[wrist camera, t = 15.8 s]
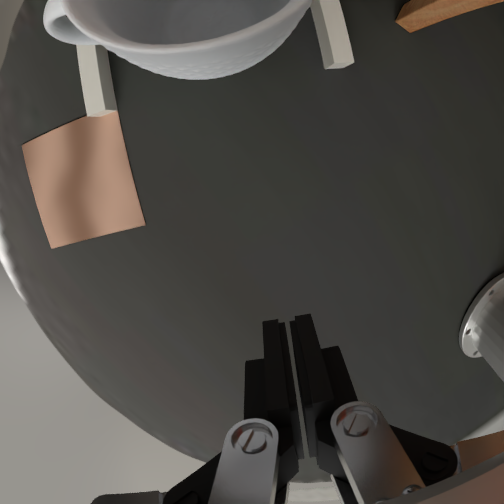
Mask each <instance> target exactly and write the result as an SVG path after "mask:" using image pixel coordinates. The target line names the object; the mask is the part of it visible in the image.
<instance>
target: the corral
mask: <svg viewBox="0 0 504 504" xmlns="http://www.w3.org/2000/svg"><path fill="white" fill-rule="evenodd" d="M310 8H311V12H312V16H313V20H314V24H315V28H316V32H317V36H318V40H319V45H320V49H321V54H322V59H323V63H324V68H325V69H333V68H344V67H346V66H348V65H350V64H352V63H354V59H353V54H352V49H351V45H350V41H349V36H348V32H347V28H346V24H345V20H344V16H343V13H342V9H341V5H340V2H339V0H312V3H311V5H310ZM77 54H78V62H79V69H80V76H81V83H82V89H83V95H84V101H85V106H86V112H87V117H101V116H104V115H106V114H109V113H112V112H115V111H118V109H117V104H116V99H115V94H114V88H113V82H112V77H111V70H110V64H109V58H108V51H107V49H106V48H105V47H104V46H102V45H101V44H100V45H77Z"/></svg>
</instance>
